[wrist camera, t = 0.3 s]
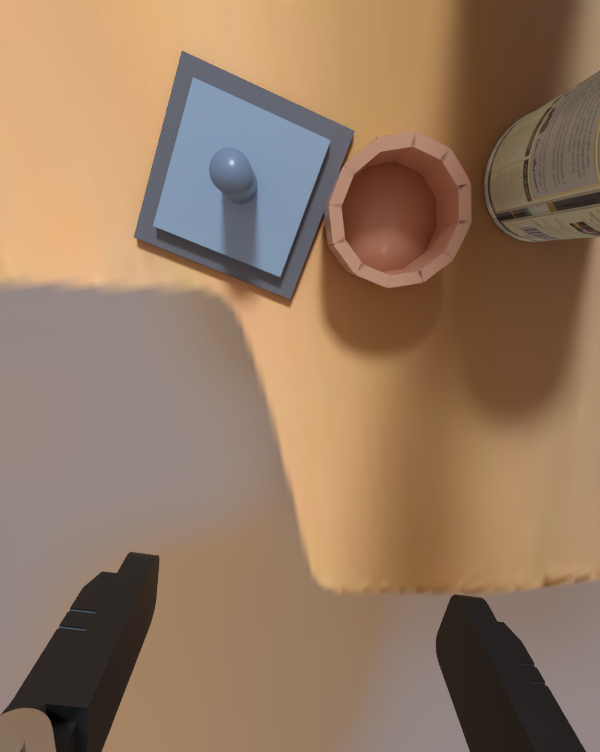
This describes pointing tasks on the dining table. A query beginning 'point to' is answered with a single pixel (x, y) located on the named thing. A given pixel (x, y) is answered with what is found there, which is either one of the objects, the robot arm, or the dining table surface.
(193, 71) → the mat
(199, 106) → the lid
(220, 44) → the dining table surface
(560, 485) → the dining table surface
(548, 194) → the coffee can
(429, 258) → the faceted pink cup
